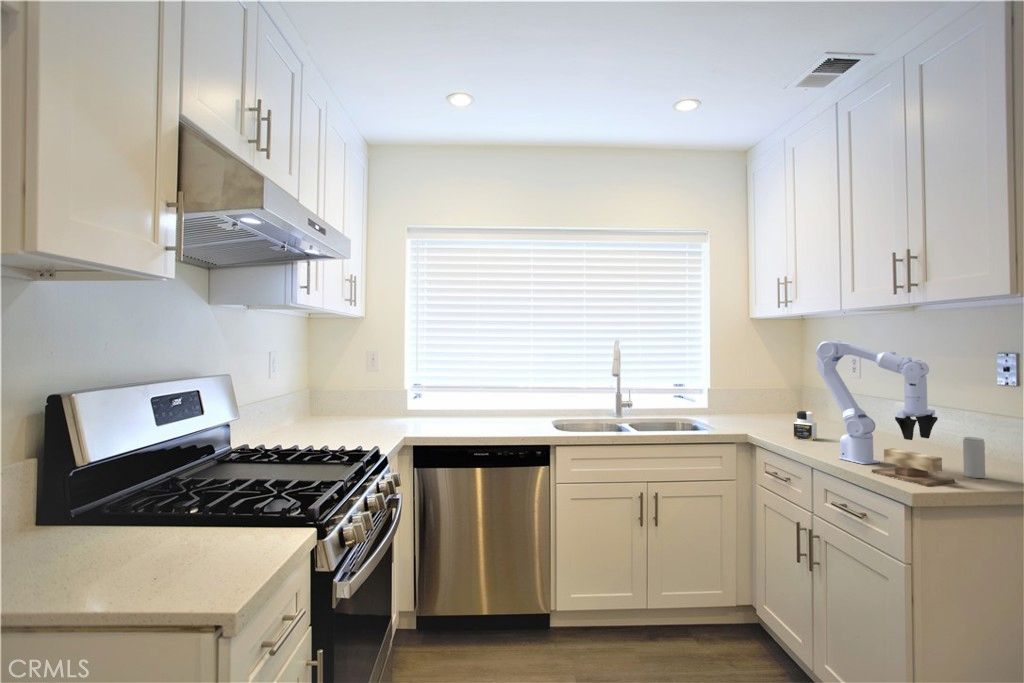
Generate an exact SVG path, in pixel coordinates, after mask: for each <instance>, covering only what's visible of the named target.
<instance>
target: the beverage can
mask: <svg viewBox="0 0 1024 683" xmlns="http://www.w3.org/2000/svg"><path fill="white" fill-rule="evenodd" d="M985 442H986V441H985V439H984V438H981V437H972V436H964V437H963V439H962V446H963V447H962V449H963V450H962V451H963V452H962V453H963V454H962V455H963V474H964V476H965V477H967V476H968V477H967V478H969V477H972V478H971V479H975V478H983V479H985V477H986V452H985V450H986V447H985V446H986V445H985V444H986V443H985Z"/></svg>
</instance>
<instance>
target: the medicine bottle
mask: <svg viewBox="0 0 1024 683" xmlns="http://www.w3.org/2000/svg"><path fill="white" fill-rule="evenodd" d="M813 413H814V412H812V411H809V410H808V411H806V410H800V411H797V412H796V421H795V422H793V439H794V438H800V439H799V440H801V439H807V440H806V441H809V440H812V441H814V440H816V438H817V439H818V434H817V432H818V429H817V425H818V424H817V422H816V421H814V414H813ZM813 439H814V440H813Z"/></svg>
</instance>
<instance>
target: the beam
mask: <svg viewBox="0 0 1024 683" xmlns="http://www.w3.org/2000/svg"><path fill="white" fill-rule="evenodd" d="M883 462H884V463H885V462H886V463H890V464H893V465H896V466H899V465H902V466H906V467H911V468H915V469H920V470H924V471H928V473H937V472H938V473H939V472H942V471H943V457H940V456H935V455H931V454H930V455H929V454H925V453H919V452H914V451H909V450H903V449H899V448H894V447H892V448H884V449H883Z"/></svg>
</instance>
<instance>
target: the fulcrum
mask: <svg viewBox="0 0 1024 683" xmlns="http://www.w3.org/2000/svg"><path fill="white" fill-rule="evenodd" d="M872 472H873V473H872ZM871 473H872V474H875V473H877V474H876V475H879V474H881V475H880V476H883V475H885V476H884V477H887V476H889V477H888V478H891V477H894V478H893V479H895V478H898V479H897V480H899V479H903V480H906V481H905V482H907V481H910V482H909V483H911V482H914V483H913V484H915V483H918V484H917V485H919V484H921V485H920V486H923V485H925V487H930V486H929V485H932V486H936V485H935V484H940V485H944V484H943V483H947V484H952V483H951V482H954V483H956V479H955V478H953V477H948V476H943V475H938V474H935V473H931V472H929V471H924V470H920V469H915V468H911V467H906V466H902V465H895V466H891V467H883V468H873V469H871ZM903 480H902V481H903Z"/></svg>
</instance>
